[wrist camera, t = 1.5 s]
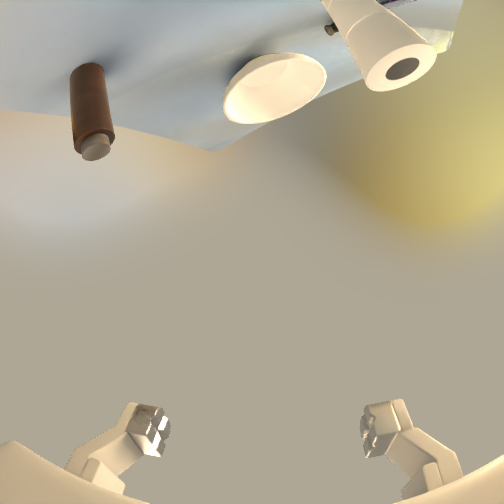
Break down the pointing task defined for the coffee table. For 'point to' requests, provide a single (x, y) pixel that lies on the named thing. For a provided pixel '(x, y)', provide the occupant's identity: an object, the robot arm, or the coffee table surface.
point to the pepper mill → (90, 112)
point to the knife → (333, 28)
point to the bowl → (272, 87)
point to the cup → (381, 43)
